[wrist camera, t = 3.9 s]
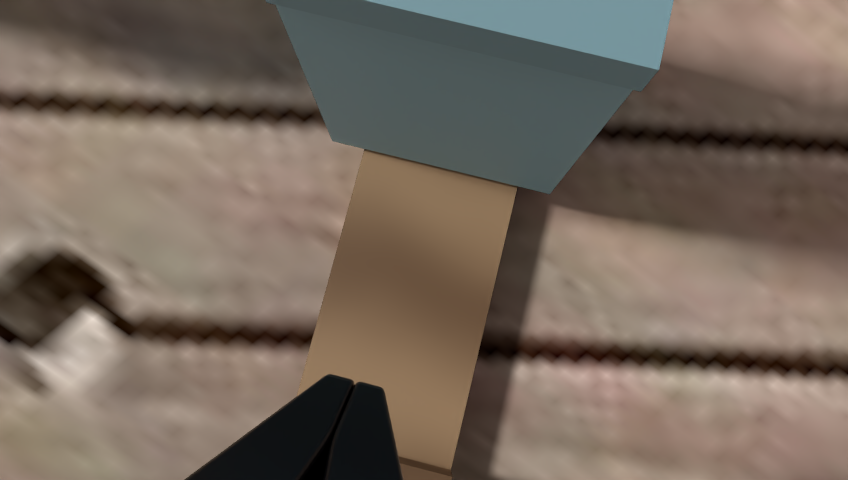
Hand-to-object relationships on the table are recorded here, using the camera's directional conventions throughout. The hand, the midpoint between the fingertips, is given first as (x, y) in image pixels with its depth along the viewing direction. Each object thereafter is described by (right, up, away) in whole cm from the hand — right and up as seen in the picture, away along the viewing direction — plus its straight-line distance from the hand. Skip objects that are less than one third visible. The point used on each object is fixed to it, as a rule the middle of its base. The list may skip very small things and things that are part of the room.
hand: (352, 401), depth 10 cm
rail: (+2, +6, +14) cm, 15 cm away
